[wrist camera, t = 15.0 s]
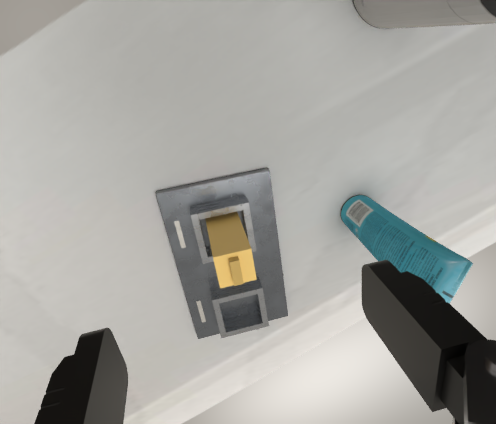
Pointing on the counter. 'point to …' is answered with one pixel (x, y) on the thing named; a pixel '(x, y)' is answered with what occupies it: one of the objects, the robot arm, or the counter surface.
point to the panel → (201, 259)
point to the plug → (230, 250)
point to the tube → (405, 246)
